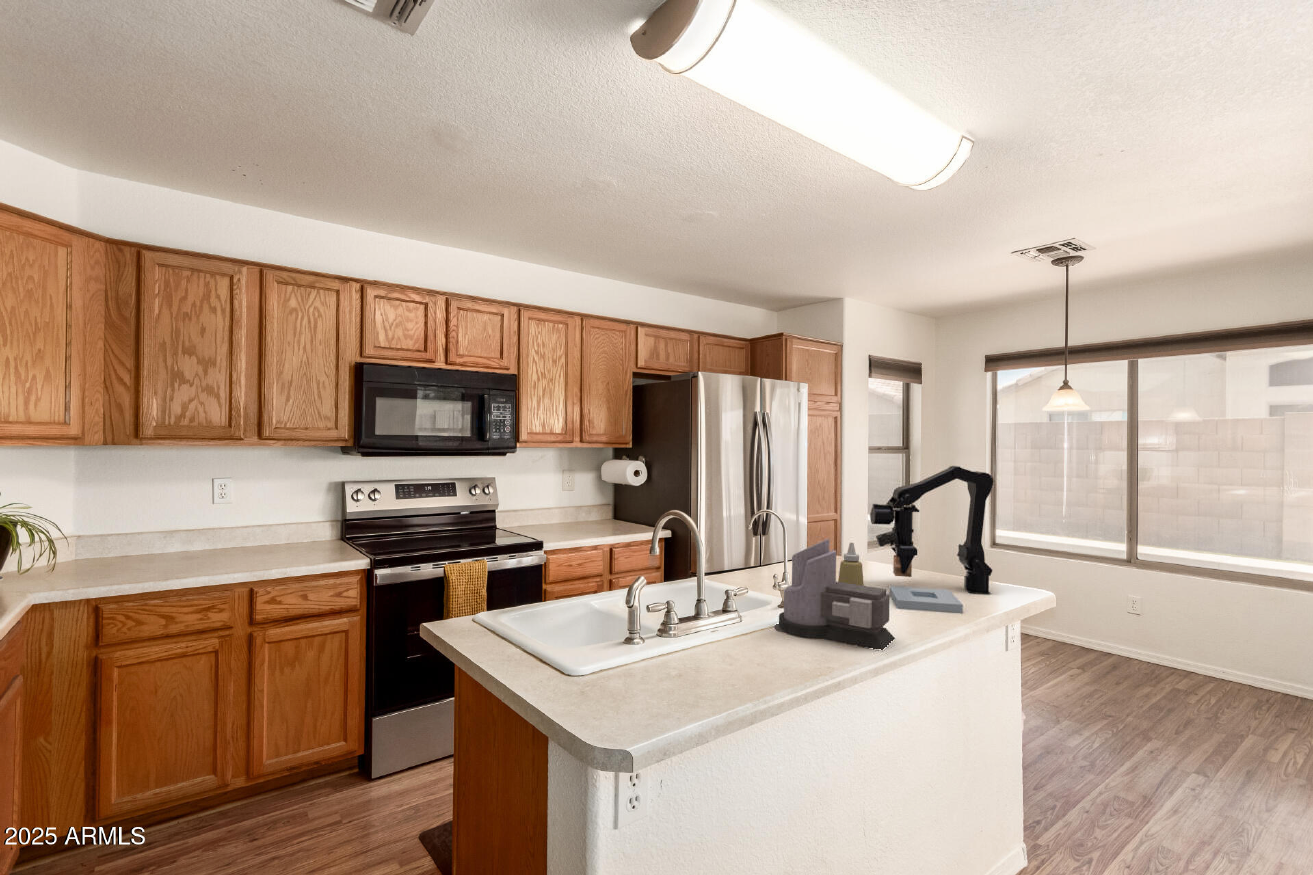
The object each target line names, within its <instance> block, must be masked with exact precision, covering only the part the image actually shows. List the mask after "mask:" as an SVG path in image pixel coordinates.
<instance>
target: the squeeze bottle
mask: <svg viewBox="0 0 1313 875" xmlns="http://www.w3.org/2000/svg"><path fill="white" fill-rule="evenodd" d="M838 572H839V573H838V579H837V580H838V581H837V582H842V583H848V584H855V585H862V586H865V584H864V582H865V581H864V571H863V563H862V562H861V561H860V554H858V553H856V548H855V543H854V542H849V544H848V548H847V552H846V553H843V560H841V561H840V563H839V571H838Z"/></svg>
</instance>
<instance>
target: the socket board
mask: <svg viewBox="0 0 1313 875" xmlns="http://www.w3.org/2000/svg"><path fill="white" fill-rule="evenodd" d="M888 586H889V589H888V590H889V591H888V592H889V594H888V595H890V598H891V600H892V601H893V603H894V605H895V607H896V609H899V610H914V611H925V612H926V611H929V612H940V613H954V614H955V613H956V614H964V612H963V609H964V607H963V606H964V604H963V603H962V602H961V601H960V600H959V599H958V597H956V596H955V595H954V594H953V593H952V591H951V590H950V589H946V588H945V589H942V588H931V587H929V588H928V587H913V586H897V585H888Z"/></svg>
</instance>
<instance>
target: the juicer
mask: <svg viewBox="0 0 1313 875" xmlns="http://www.w3.org/2000/svg"><path fill="white" fill-rule="evenodd" d="M887 590H888V589H886V588H883V587H882V588H880V587H873V586H867V585H864V586H862V585H855V584H848V583H842V582H838V581H837V551H836V550H835V549H833V550H830V539H829V538H826V539H824V540H822V541H820V542H818V543H815V544H813V545H811V546H809V547H807V548H803V549H802V550H800V551H798V552H796V553H794V554H793V555H792V556H791V584H790V585H788V586H787V587H785V588H784V590H783V591H784V593H783V594H784V595H783V597H784V598H783V603H784V604H783V611H782V612H781V613H779V615H778V621H779V624H776V625H775V624H774V625H775V626H773V628H774V629H775V631H776V632H778V633H784V634H787V635H790V636H793V637H796V638H801V639H809V640H810V639H811V640H812V639H813V640H826V641H830V642H836V643H839V644H844V643H846V644H845V645H850V646H854V645H857V646H856V647H860V648H864V647H868V648H867V649H869V648H873V649H872V650H874V649H881V650H883V649H884V648H885V647H887V645H889V643H891V641H893V640H894V639H895V640H896V638H895V636H893V634H892V633H891V632H890V631H889V629H887V628H886V627H884V626H886V624H887V623H888V622H889V621H890V606H891V605H890V603H891V601H890V600H891V599H890V598H891V596H890V594H888V593H887ZM895 640H894V641H895ZM891 644H892V643H891ZM889 646H890V645H889ZM887 648H888V647H887Z"/></svg>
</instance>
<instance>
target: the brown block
mask: <svg viewBox="0 0 1313 875" xmlns="http://www.w3.org/2000/svg"><path fill="white" fill-rule="evenodd" d="M912 563H913V560H912V561H911V563H910V565H909V567H908V569H907V571H906V573H905V574H903V573H902V571H901V565H900V559H899V557H898V556H897V555H896V554H894V555H893V563H892V564H893V565H892V566H893V567H892V568H893V570H892V572H893V574H894V576H895V577H905V578H906V577H909V578H912V572H913V571H912V570H913V569H912V567H913V564H912Z"/></svg>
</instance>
